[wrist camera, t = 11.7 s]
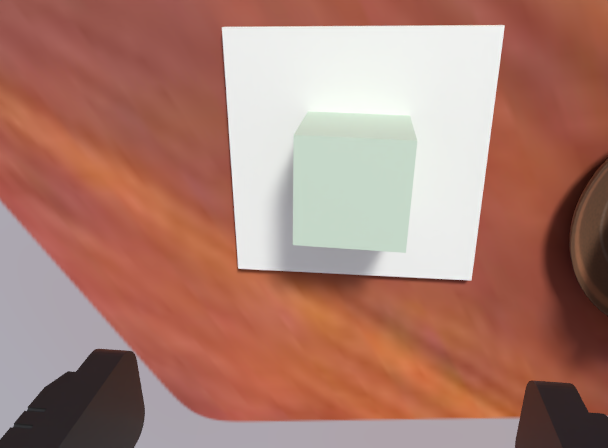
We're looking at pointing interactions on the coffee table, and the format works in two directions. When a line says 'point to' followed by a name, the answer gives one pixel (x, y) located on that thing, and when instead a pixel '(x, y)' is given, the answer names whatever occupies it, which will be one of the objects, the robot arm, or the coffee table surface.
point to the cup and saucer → (592, 239)
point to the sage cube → (353, 181)
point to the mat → (364, 100)
